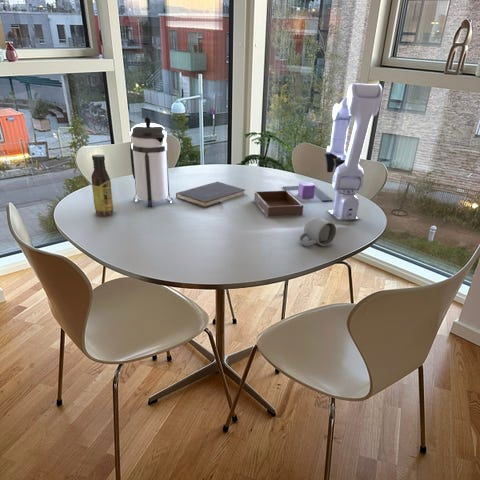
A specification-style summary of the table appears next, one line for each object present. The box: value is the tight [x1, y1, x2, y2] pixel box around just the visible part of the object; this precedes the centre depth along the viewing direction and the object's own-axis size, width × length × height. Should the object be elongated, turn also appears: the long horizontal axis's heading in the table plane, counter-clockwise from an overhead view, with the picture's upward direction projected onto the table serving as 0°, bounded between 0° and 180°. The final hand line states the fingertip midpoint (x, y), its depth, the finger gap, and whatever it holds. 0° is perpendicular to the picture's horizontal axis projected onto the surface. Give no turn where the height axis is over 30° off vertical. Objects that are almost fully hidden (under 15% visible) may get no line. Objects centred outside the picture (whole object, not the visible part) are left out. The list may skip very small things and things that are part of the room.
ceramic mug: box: [299, 216, 337, 247], centre depth 146 cm, size 11×8×8 cm
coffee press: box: [129, 116, 174, 208], centre depth 169 cm, size 17×16×30 cm
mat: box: [282, 185, 333, 203], centre depth 191 cm, size 20×14×1 cm
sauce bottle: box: [91, 154, 114, 217], centre depth 158 cm, size 7×6×20 cm
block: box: [297, 181, 316, 199], centre depth 186 cm, size 5×5×5 cm
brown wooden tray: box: [254, 190, 304, 218], centre depth 173 cm, size 18×13×4 cm
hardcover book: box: [175, 181, 246, 209], centre depth 183 cm, size 16×23×2 cm
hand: (333, 174), depth 183 cm, fingers open, 7 cm apart
